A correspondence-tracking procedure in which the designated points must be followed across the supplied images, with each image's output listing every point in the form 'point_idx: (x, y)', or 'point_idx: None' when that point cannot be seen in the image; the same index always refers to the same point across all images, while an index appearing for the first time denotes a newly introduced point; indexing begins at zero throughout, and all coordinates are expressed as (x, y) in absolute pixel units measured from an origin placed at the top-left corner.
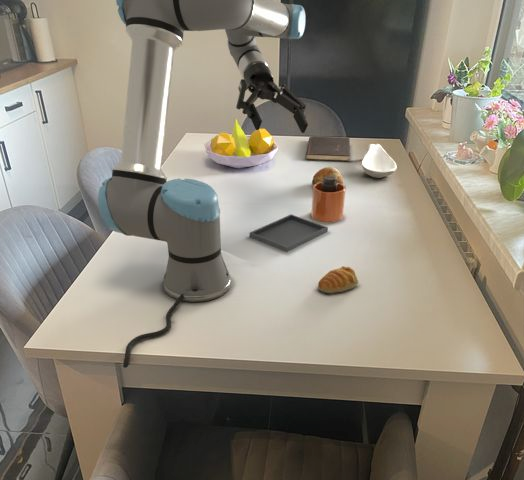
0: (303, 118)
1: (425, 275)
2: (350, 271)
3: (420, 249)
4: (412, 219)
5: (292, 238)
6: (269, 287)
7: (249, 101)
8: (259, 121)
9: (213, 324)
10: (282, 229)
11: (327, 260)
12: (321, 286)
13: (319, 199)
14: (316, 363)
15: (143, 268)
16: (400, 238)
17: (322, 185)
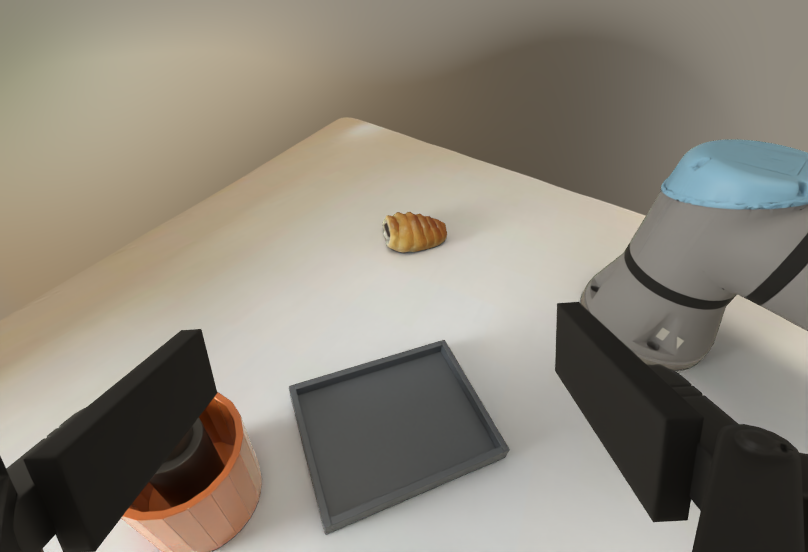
0: (156, 361)
1: (266, 212)
2: (393, 217)
3: (185, 261)
4: (17, 366)
5: (398, 396)
6: (515, 273)
7: (745, 455)
8: (576, 306)
9: (610, 240)
10: (397, 458)
11: (377, 298)
12: (445, 227)
13: (247, 435)
14: (505, 169)
15: (775, 421)
16: (167, 305)
17: (201, 445)
